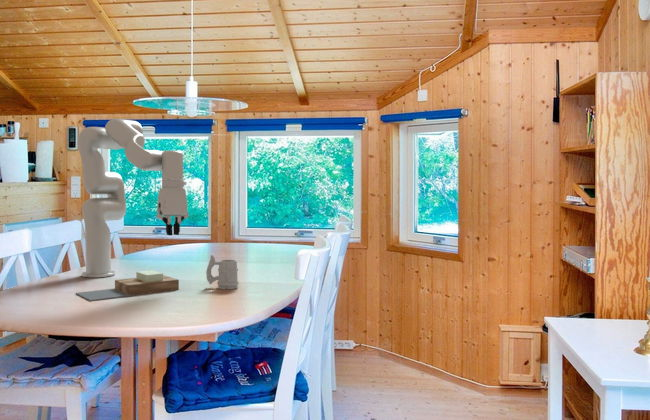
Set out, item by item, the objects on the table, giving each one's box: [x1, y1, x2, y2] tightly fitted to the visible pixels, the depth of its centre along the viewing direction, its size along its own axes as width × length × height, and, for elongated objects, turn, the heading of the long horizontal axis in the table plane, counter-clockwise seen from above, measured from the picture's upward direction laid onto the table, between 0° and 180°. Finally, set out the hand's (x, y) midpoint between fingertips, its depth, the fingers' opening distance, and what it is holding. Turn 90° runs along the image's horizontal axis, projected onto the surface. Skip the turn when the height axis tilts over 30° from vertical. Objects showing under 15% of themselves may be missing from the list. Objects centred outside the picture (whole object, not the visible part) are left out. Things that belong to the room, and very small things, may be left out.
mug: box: [205, 254, 240, 290], centre depth 205 cm, size 8×12×12 cm, turn 91°
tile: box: [135, 269, 164, 282], centre depth 200 cm, size 9×6×2 cm, turn 41°
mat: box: [75, 287, 134, 302], centre depth 190 cm, size 15×14×1 cm
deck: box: [114, 274, 180, 296], centre depth 200 cm, size 13×18×4 cm
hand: (172, 234), depth 206 cm, fingers closed
